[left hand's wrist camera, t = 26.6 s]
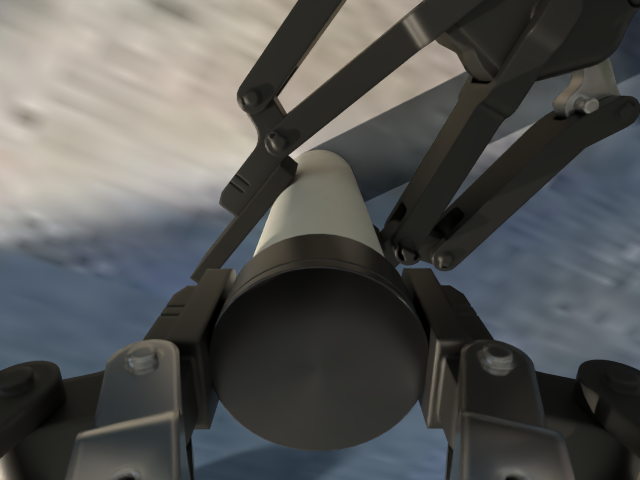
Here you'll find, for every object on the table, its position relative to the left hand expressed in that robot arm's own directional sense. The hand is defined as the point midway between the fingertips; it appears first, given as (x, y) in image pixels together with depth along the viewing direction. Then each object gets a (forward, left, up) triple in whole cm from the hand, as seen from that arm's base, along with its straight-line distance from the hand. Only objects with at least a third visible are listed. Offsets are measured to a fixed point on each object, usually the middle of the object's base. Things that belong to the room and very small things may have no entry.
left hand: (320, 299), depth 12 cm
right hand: (+4, -4, -7) cm, 9 cm away
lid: (0, 0, +3) cm, 3 cm away
